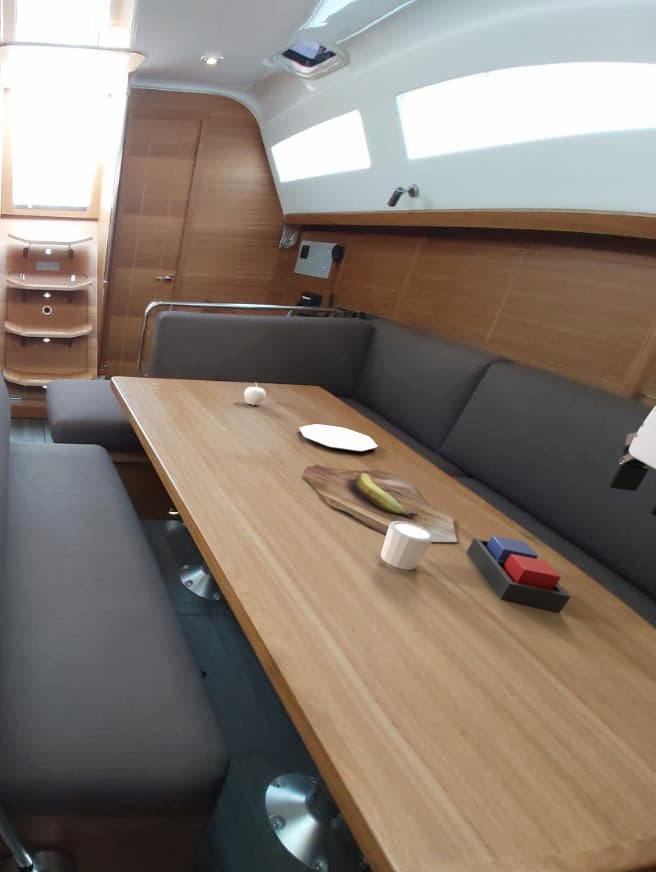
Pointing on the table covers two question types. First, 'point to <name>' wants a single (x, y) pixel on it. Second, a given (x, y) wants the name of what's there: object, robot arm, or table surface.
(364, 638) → the table surface
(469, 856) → the table surface
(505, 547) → the blue block
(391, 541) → the white cup
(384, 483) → the cutting board
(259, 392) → the plain white apple
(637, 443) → the robot arm
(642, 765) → the table surface
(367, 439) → the plate
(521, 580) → the red block
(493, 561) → the tray
